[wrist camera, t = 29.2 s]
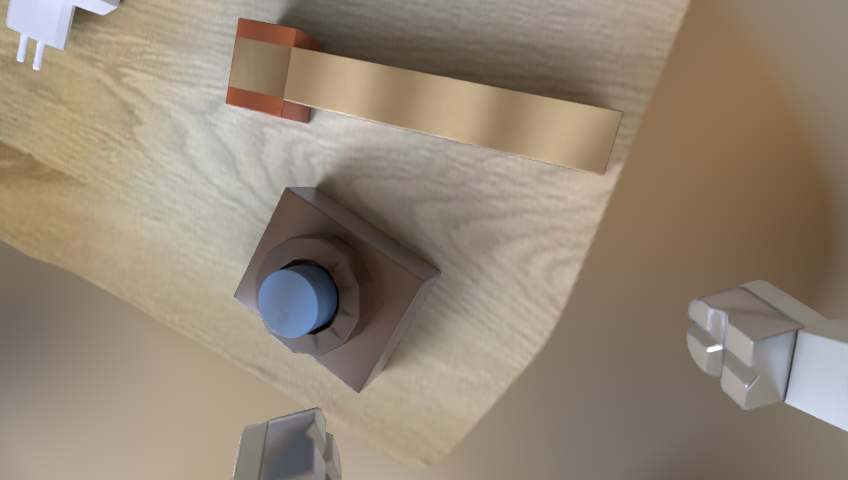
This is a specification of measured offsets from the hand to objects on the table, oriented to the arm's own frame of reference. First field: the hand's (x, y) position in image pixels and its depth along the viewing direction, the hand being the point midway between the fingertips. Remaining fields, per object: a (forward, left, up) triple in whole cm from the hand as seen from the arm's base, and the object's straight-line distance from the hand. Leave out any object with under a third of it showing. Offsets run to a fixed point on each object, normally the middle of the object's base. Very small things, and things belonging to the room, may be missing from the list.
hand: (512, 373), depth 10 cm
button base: (+10, +8, -18) cm, 22 cm away
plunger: (+10, +8, -13) cm, 18 cm away
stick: (+11, -3, -18) cm, 21 cm away
